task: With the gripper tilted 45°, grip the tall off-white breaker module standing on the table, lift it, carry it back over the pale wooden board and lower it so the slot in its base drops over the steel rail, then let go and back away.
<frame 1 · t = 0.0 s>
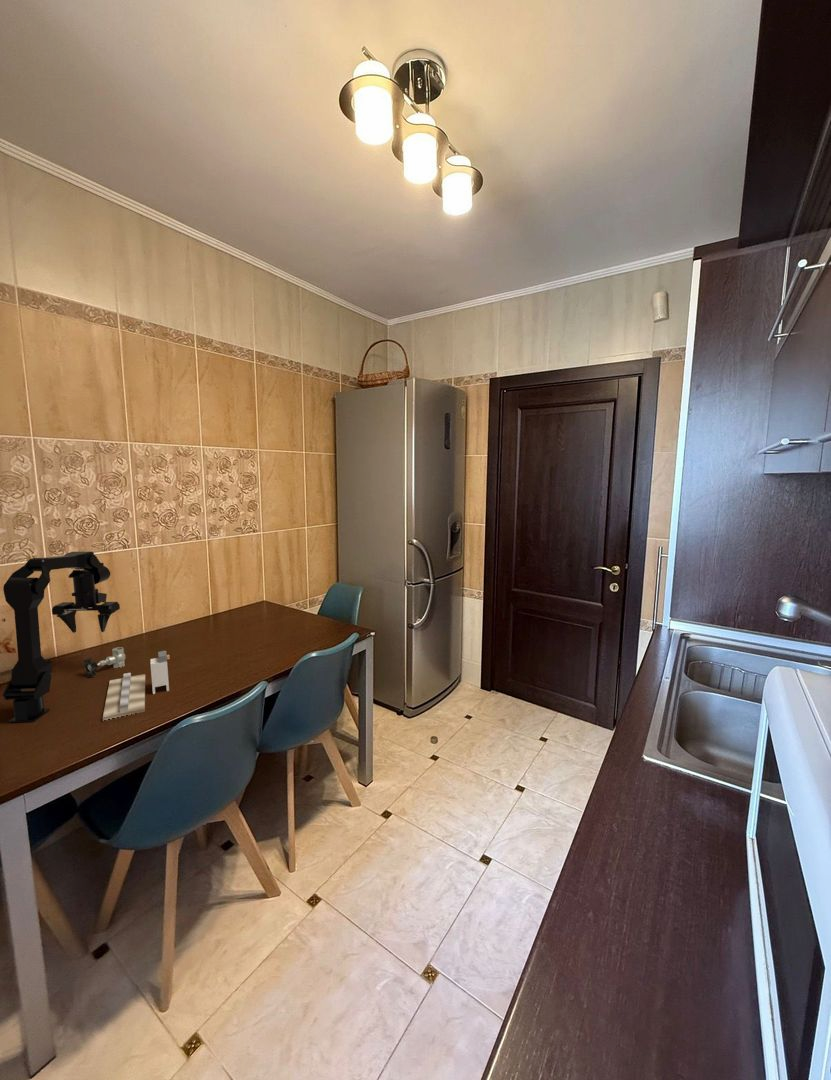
hand: (88, 632, 151), 15 cm above the table, tool pointing down, fingers open, 9 cm apart
din board: (126, 696, 137), on the table
breaker module: (160, 689, 142), on the table
valve: (107, 670, 155), on the table
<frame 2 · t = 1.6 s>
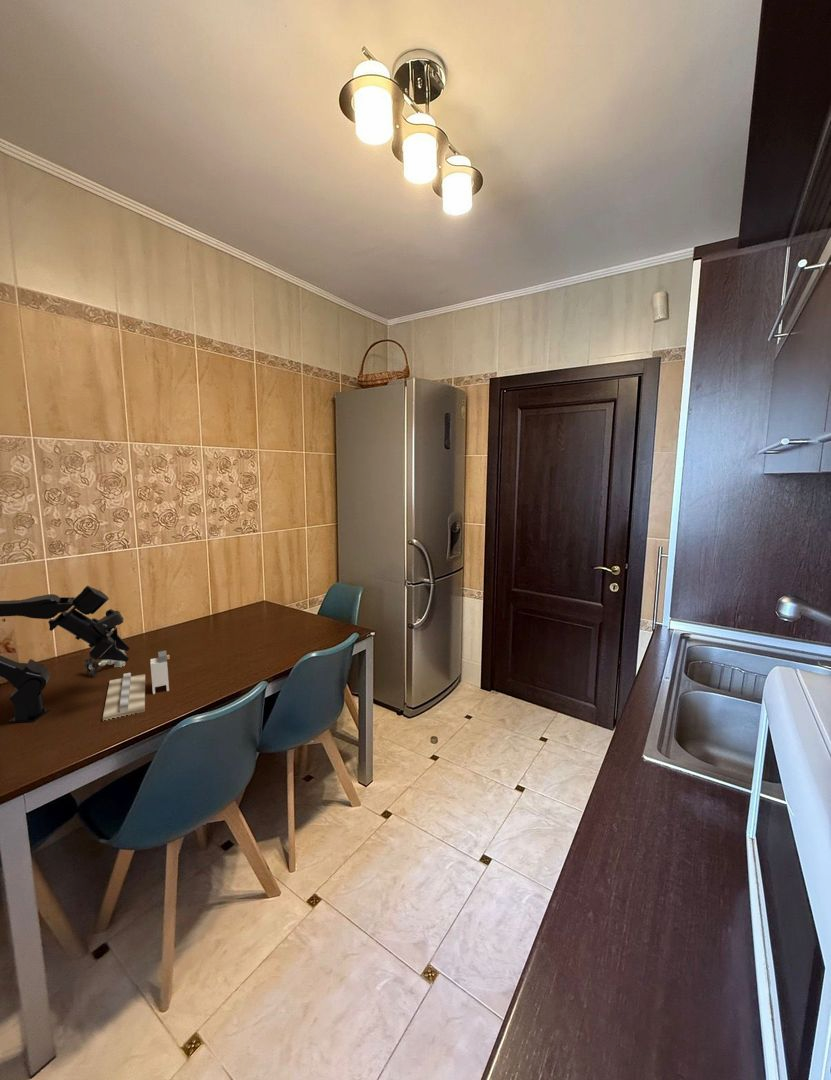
hand: (128, 654, 136), 13 cm above the table, tool tilted 45°, fingers open, 9 cm apart
nothing on the table moved.
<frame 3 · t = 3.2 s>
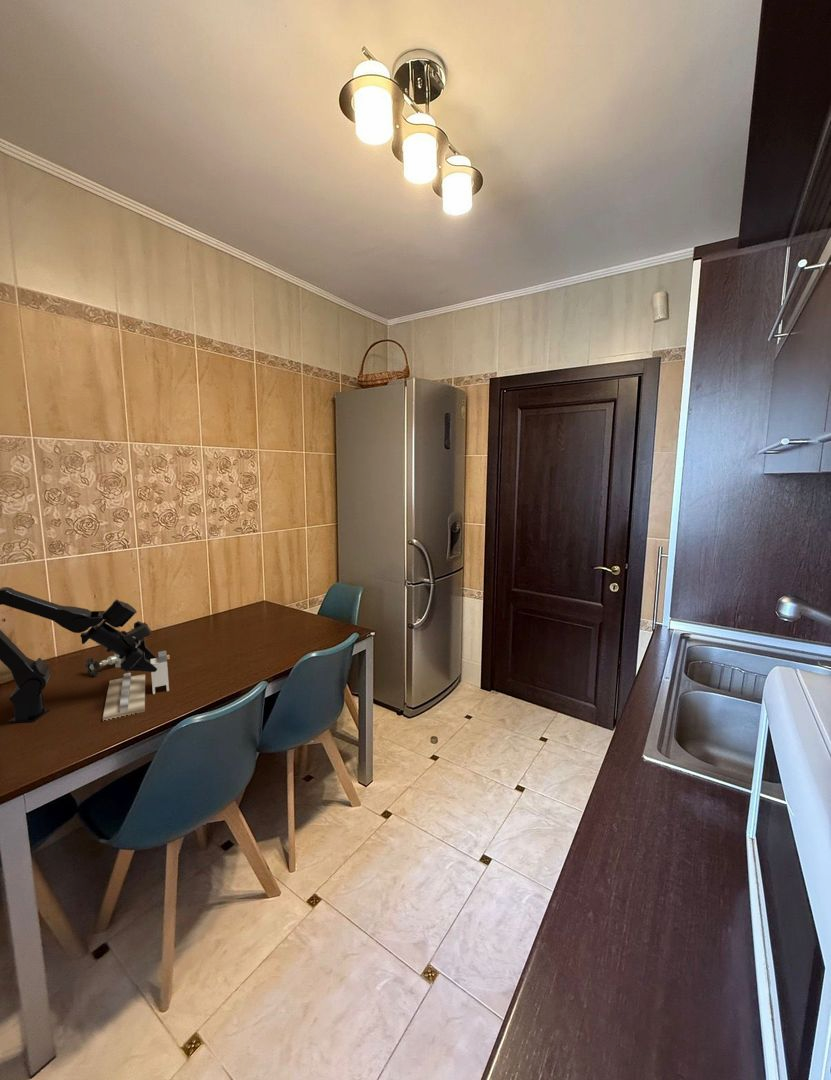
hand: (156, 665, 140), 9 cm above the table, tool tilted 45°, fingers open, 9 cm apart
nothing on the table moved.
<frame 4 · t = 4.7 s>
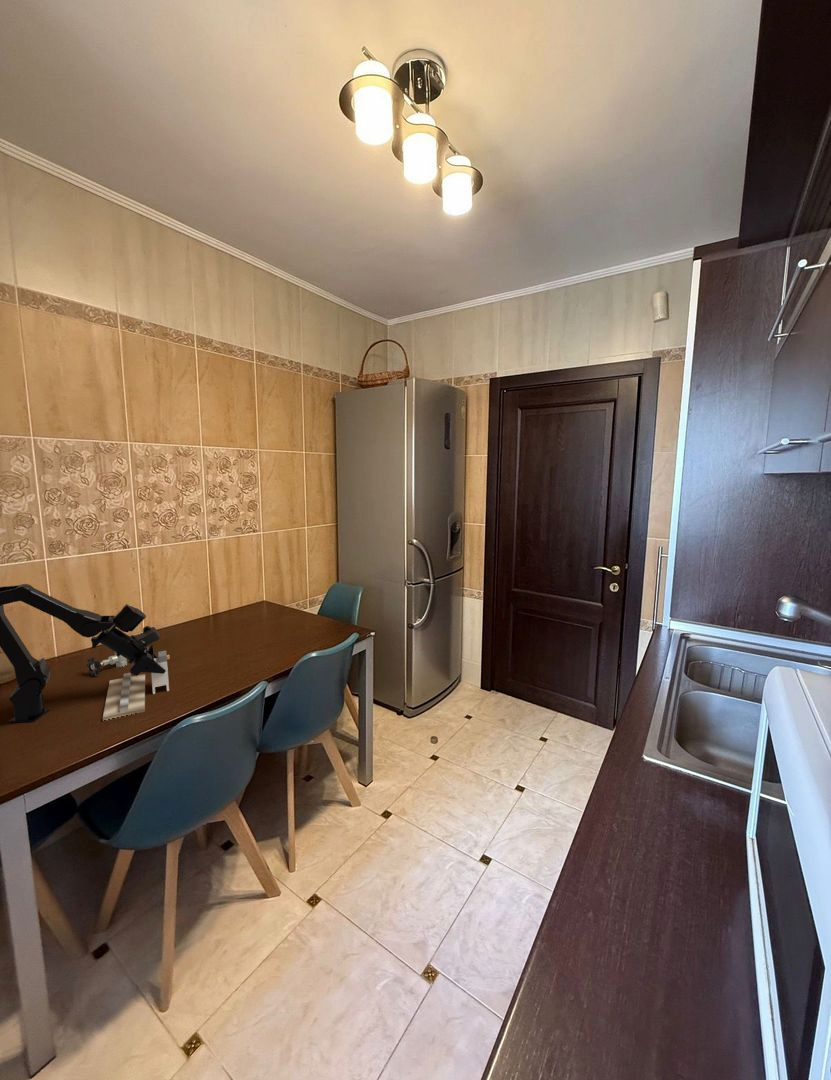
hand: (164, 669, 142), 7 cm above the table, tool tilted 45°, fingers closed on breaker module, 4 cm apart
breaker module: (160, 689, 142), on the table, touching gripper
everything else where it was.
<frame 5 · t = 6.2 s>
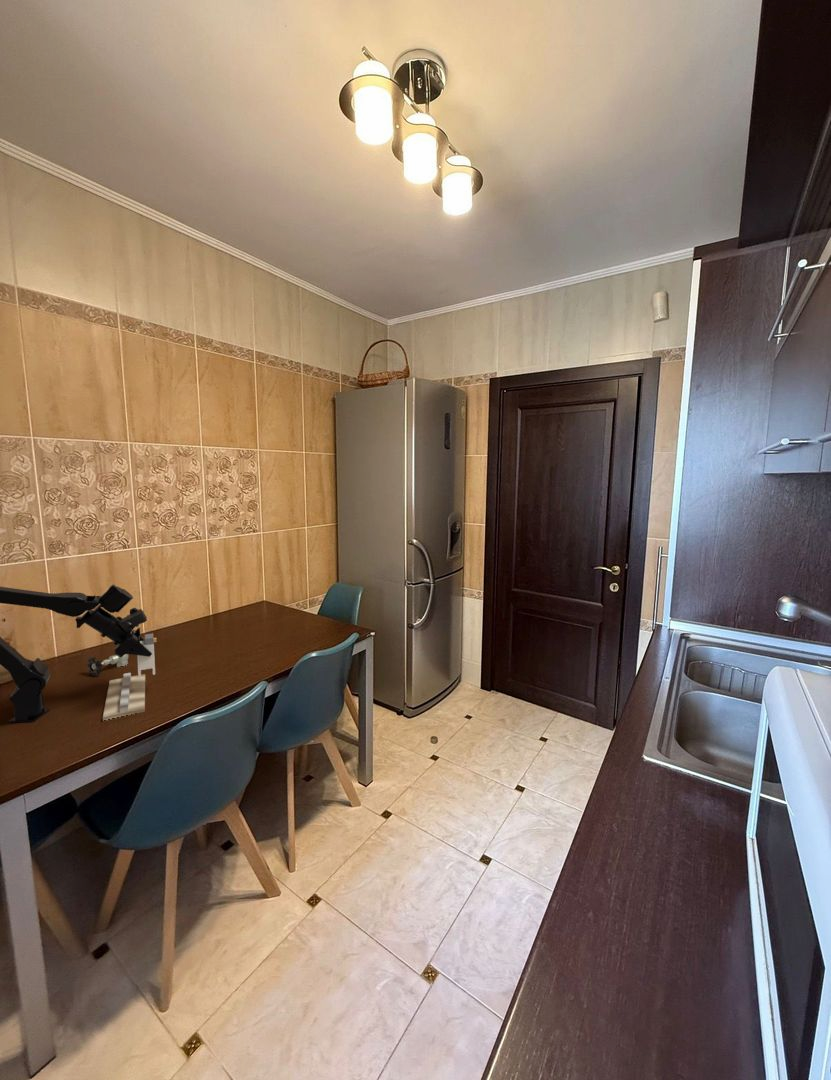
hand: (150, 652, 139), 13 cm above the table, tool tilted 45°, fingers closed on breaker module, 4 cm apart
breaker module: (146, 673, 139), point 6 cm above the table, touching gripper
when the fingers open (8 cm above the table, at t = 8.2 s): breaker module stays where it is, resting on din board.
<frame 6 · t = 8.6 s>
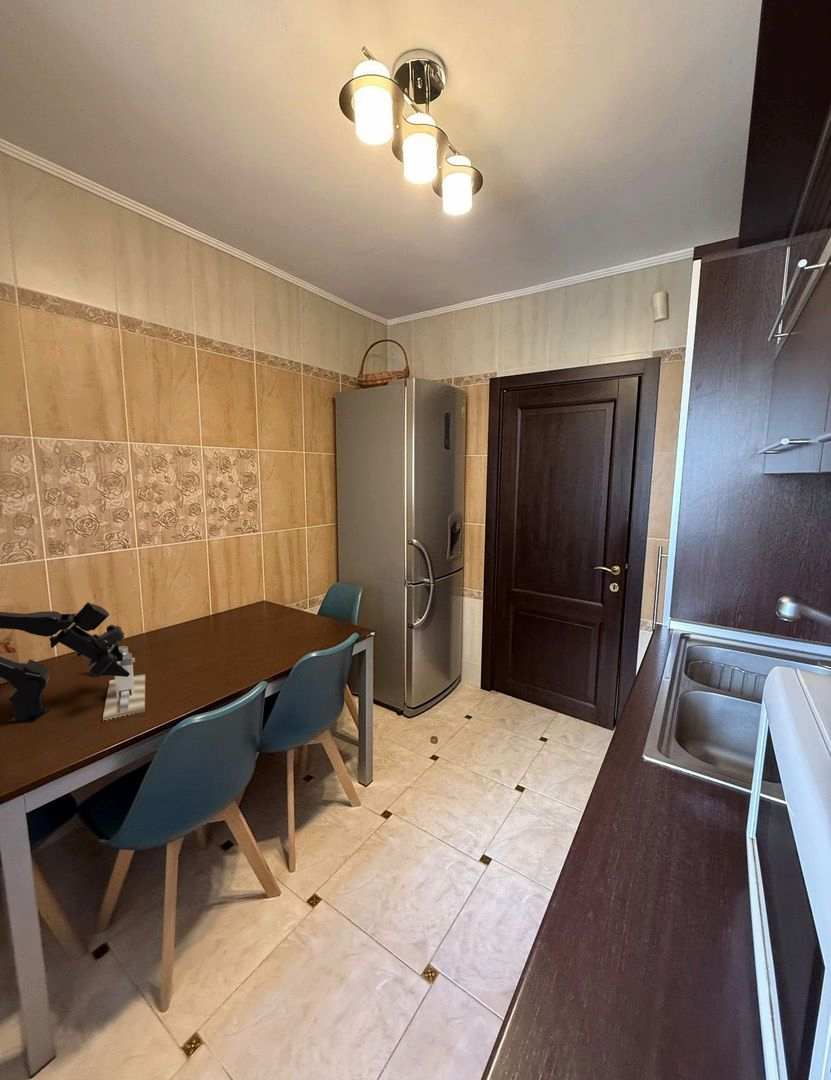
hand: (129, 669, 137), 9 cm above the table, tool tilted 45°, fingers open, 8 cm apart
breaker module: (125, 693, 137), point 1 cm above the table, touching din board
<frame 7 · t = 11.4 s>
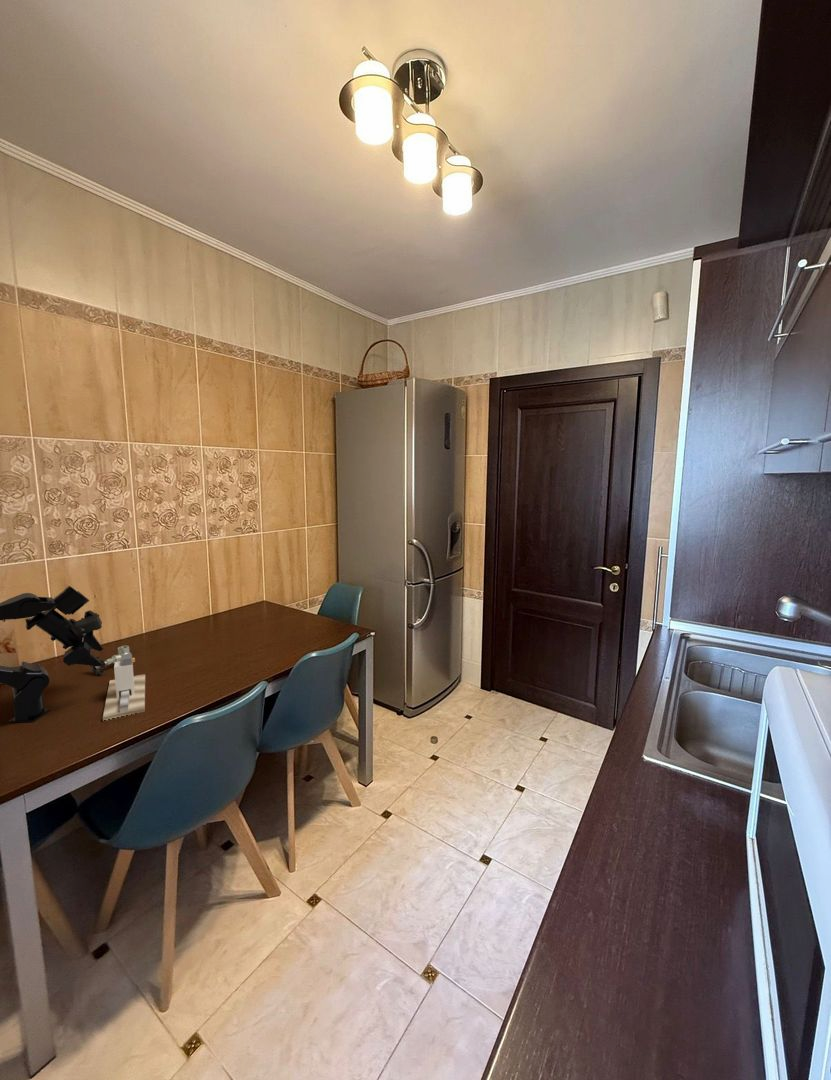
hand: (101, 657, 136), 12 cm above the table, tool tilted 40°, fingers open, 9 cm apart
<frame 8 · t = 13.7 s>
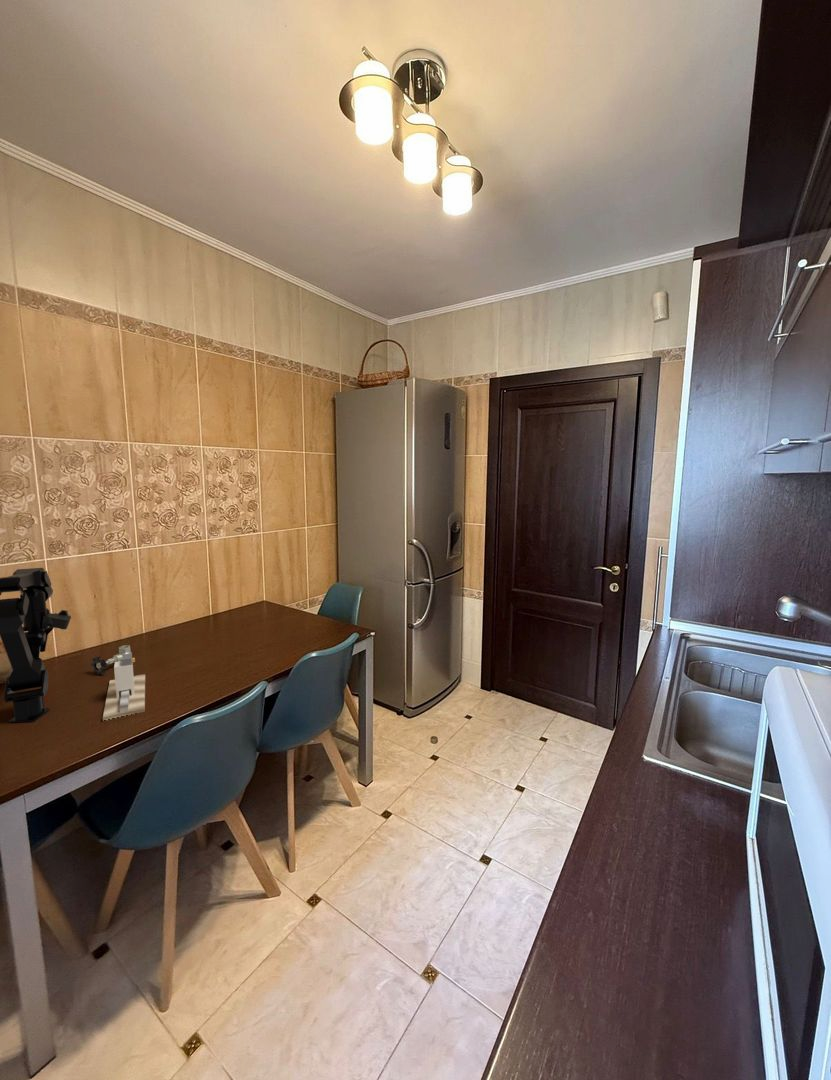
hand: (39, 656, 137), 12 cm above the table, tool pointing down, fingers open, 9 cm apart
at the end: breaker module 0.0 cm off-centre on the din board, point 1.0 cm above the din board's base; breaker module tilted 0°; the gripper is holding nothing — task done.
